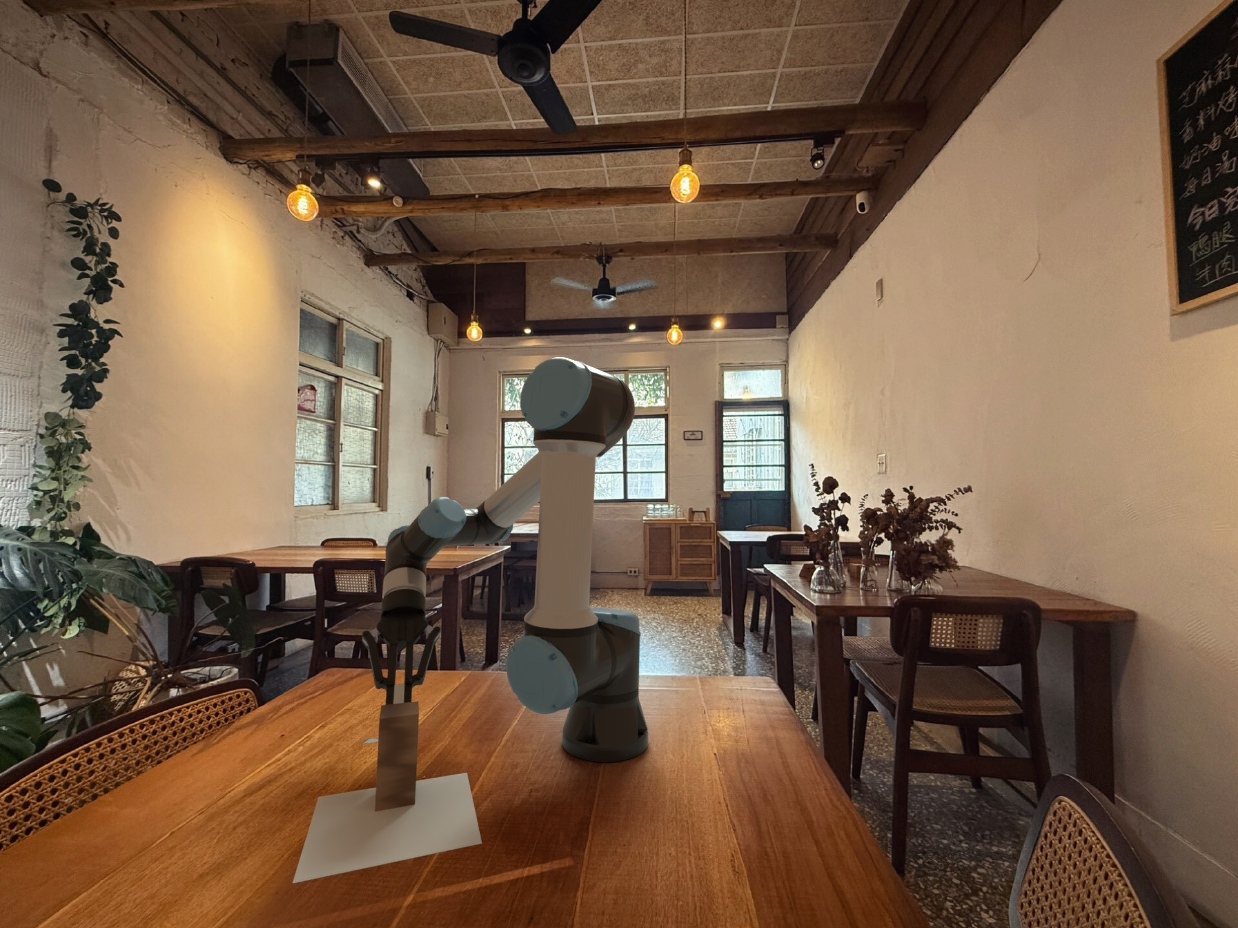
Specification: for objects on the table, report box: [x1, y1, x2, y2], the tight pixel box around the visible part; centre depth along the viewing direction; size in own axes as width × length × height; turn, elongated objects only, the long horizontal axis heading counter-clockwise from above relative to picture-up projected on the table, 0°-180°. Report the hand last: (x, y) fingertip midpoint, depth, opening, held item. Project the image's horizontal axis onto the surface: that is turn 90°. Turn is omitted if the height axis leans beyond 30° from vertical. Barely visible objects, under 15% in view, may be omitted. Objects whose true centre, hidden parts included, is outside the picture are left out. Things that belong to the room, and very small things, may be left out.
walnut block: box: [375, 700, 420, 812], centre depth 75 cm, size 5×5×12 cm
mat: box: [292, 772, 483, 884], centre depth 70 cm, size 20×18×1 cm
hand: (397, 728), depth 82 cm, fingers closed
